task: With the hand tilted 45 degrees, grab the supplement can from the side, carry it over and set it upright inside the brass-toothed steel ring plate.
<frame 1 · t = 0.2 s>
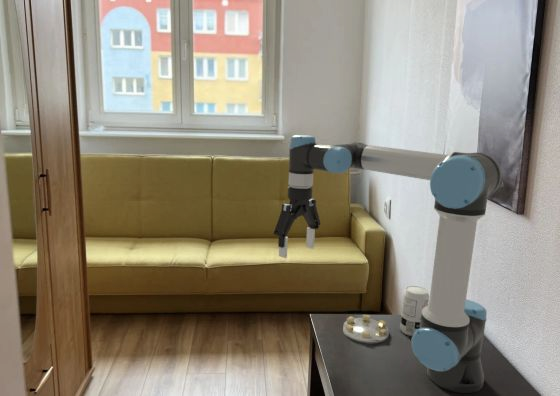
hand: (296, 252, 153), 28 cm above the table, tool pointing down, fingers open, 13 cm apart
ring plate: (365, 332, 162), on the table
supplement can: (412, 332, 164), on the table
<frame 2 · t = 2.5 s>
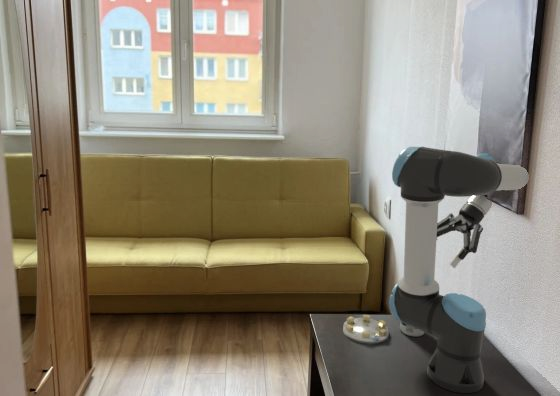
hand: (436, 258, 162), 25 cm above the table, tool tilted 40°, fingers open, 13 cm apart
nothing on the table moved.
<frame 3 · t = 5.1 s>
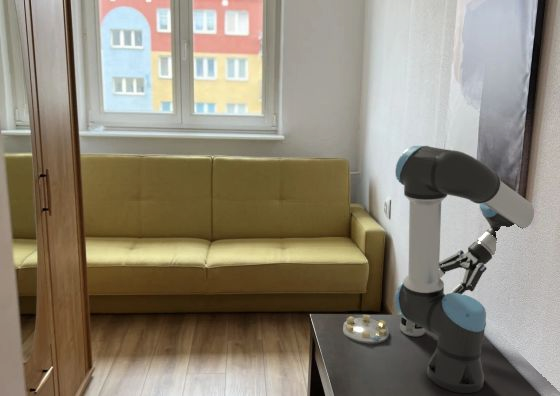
hand: (437, 291, 163), 14 cm above the table, tool tilted 45°, fingers open, 13 cm apart
nothing on the table moved.
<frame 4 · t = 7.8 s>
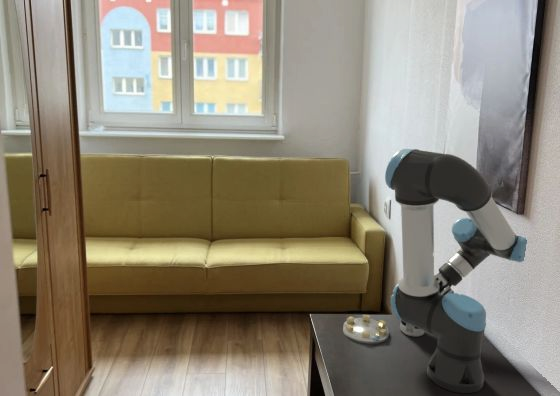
hand: (404, 316, 162), 6 cm above the table, tool tilted 45°, fingers closed on supplement can, 8 cm apart
supplement can: (412, 332, 164), on the table, touching gripper
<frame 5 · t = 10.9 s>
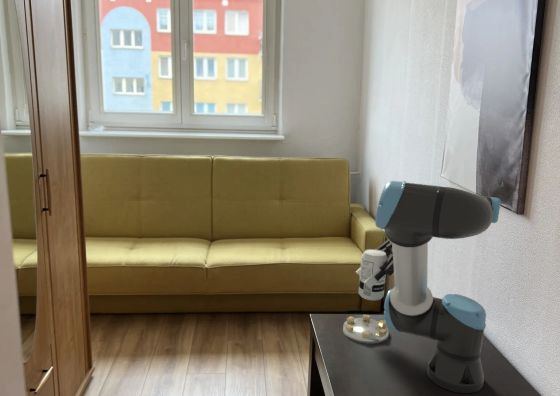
hand: (362, 279, 158), 19 cm above the table, tool tilted 45°, fingers closed on supplement can, 8 cm apart
supplement can: (370, 296, 159), point 13 cm above the table, touching gripper
when the fingers open (9 cm above the table, at t = 13.8 s): supplement can drops 1 cm, resting on ring plate.
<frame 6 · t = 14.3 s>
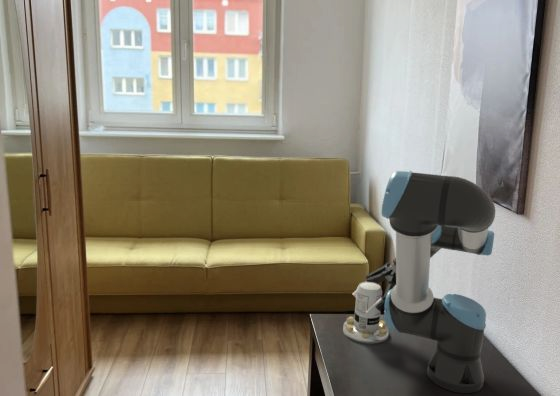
hand: (361, 305, 159), 10 cm above the table, tool tilted 45°, fingers open, 13 cm apart
supplement can: (366, 328, 162), point 1 cm above the table, touching ring plate
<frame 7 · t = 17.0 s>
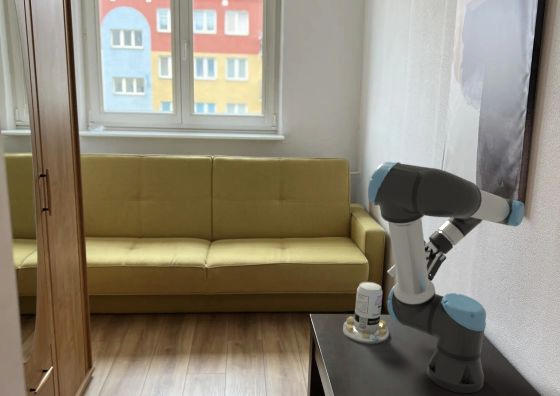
hand: (397, 282, 160), 18 cm above the table, tool tilted 45°, fingers open, 13 cm apart
nothing on the table moved.
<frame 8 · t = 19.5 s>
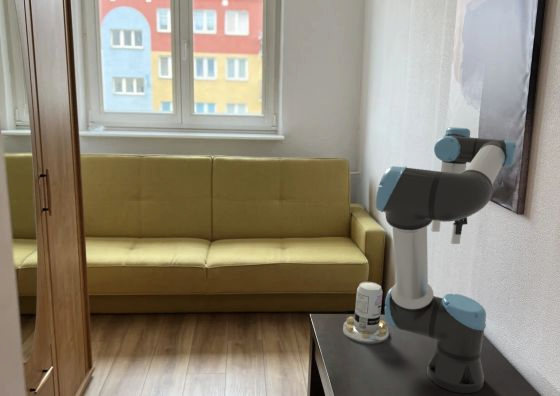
hand: (444, 237, 163), 32 cm above the table, tool pointing down, fingers open, 13 cm apart
nothing on the table moved.
at the end: supplement can 0.2 cm off-centre on the ring plate, point 1.3 cm above the ring plate's base; supplement can tilted 0°; the gripper is holding nothing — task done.
